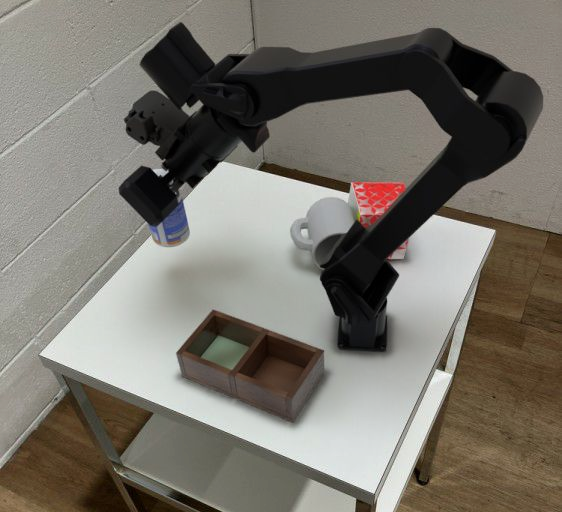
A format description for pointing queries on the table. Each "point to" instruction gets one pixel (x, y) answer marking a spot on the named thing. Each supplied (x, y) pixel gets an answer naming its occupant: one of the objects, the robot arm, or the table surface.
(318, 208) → the cup
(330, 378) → the table surface
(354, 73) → the robot arm
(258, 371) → the divided box
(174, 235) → the pill bottle
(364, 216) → the red patterned cube
